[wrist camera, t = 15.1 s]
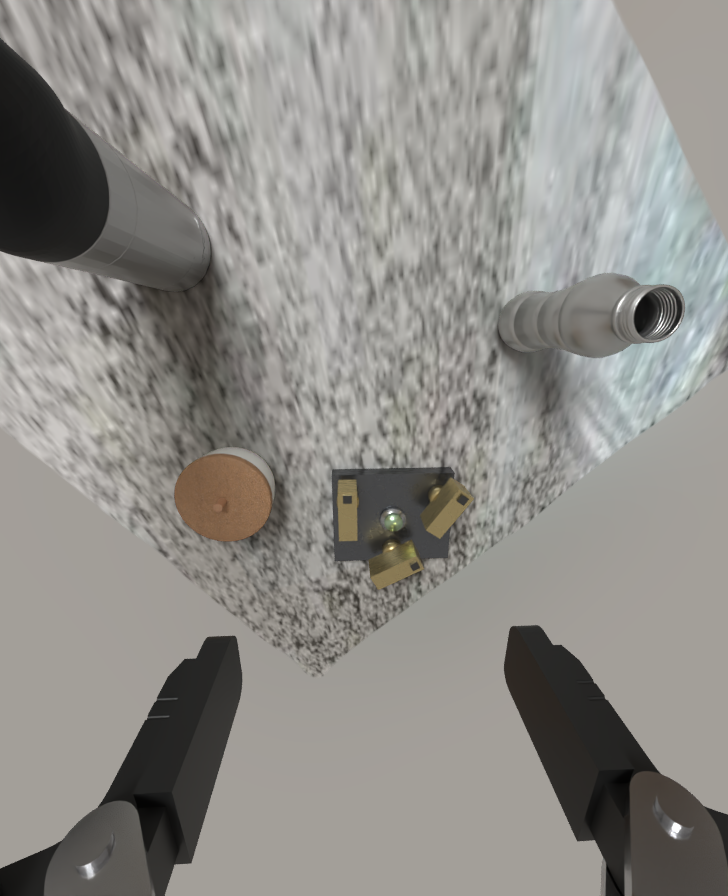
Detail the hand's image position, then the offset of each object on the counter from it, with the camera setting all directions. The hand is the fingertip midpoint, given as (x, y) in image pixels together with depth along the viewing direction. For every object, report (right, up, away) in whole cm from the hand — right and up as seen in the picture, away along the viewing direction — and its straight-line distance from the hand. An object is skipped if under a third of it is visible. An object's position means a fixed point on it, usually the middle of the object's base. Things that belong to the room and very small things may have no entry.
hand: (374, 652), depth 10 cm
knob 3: (+10, 0, +36) cm, 38 cm away
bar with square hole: (+4, -8, +39) cm, 40 cm away
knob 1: (-2, 0, +36) cm, 36 cm away
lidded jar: (-17, +3, +37) cm, 40 cm away
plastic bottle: (+18, +21, +32) cm, 43 cm away
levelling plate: (+3, -3, +39) cm, 39 cm away
